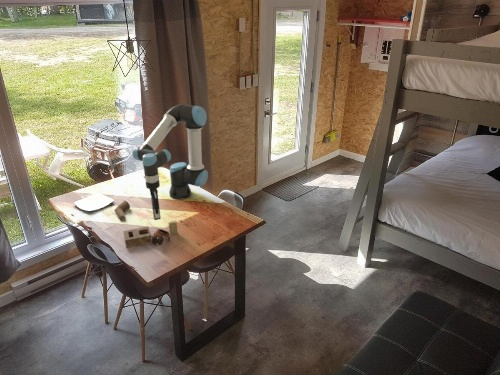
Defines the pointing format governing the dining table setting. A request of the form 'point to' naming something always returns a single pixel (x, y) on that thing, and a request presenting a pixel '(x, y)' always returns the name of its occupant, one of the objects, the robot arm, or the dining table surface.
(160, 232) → the pottery mug
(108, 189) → the dining table surface
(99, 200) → the plate
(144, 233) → the socket block
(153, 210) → the square steel bit
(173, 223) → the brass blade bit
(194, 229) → the dining table surface
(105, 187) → the dining table surface
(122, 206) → the pipe
